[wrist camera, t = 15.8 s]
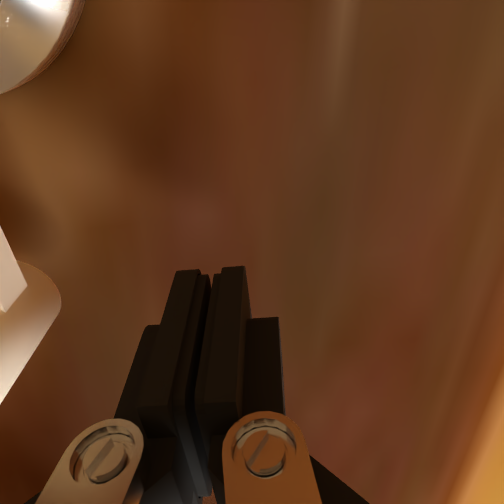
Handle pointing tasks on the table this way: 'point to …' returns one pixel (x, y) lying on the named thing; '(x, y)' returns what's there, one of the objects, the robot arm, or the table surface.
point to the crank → (22, 313)
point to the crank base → (33, 37)
